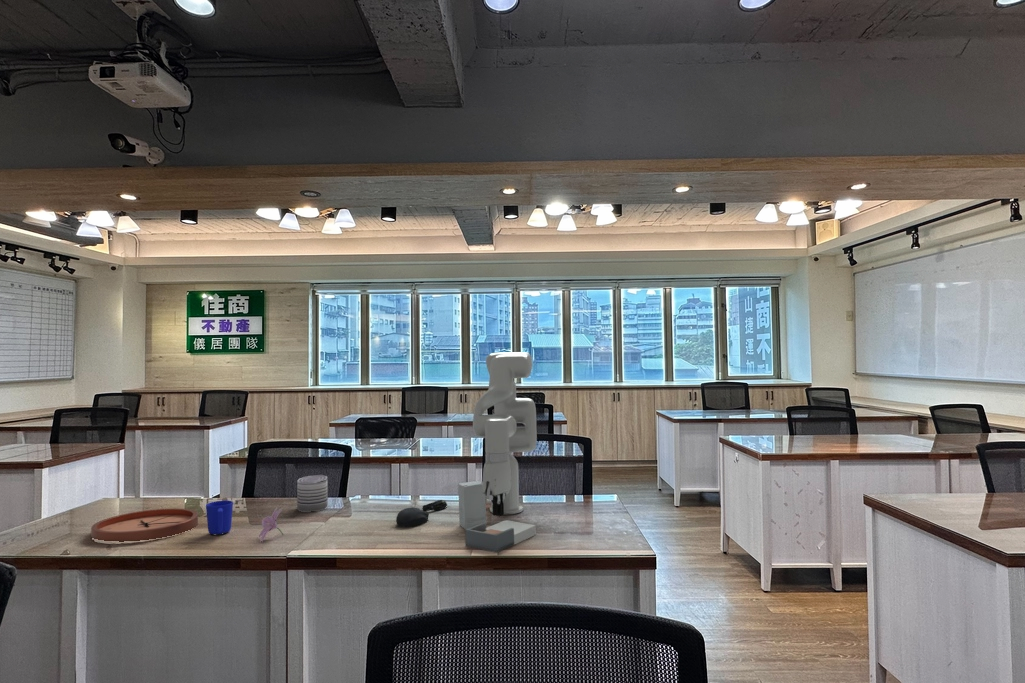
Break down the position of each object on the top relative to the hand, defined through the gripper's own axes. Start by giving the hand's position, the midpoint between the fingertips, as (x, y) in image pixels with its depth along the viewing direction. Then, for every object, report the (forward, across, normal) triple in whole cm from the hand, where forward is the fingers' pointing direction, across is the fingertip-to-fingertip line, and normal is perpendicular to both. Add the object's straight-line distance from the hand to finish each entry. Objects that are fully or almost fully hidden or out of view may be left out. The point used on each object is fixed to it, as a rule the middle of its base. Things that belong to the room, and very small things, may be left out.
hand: (498, 515), depth 188 cm
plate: (+8, -6, 0) cm, 10 cm away
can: (+9, +5, -86) cm, 87 cm away
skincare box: (+9, -9, -18) cm, 22 cm away
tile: (+7, +4, 0) cm, 8 cm away
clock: (+9, +55, -110) cm, 124 cm away
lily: (+8, +37, -65) cm, 76 cm away
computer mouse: (+9, -9, -41) cm, 43 cm away
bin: (+8, +5, 0) cm, 10 cm away
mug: (+8, +44, -84) cm, 95 cm away
